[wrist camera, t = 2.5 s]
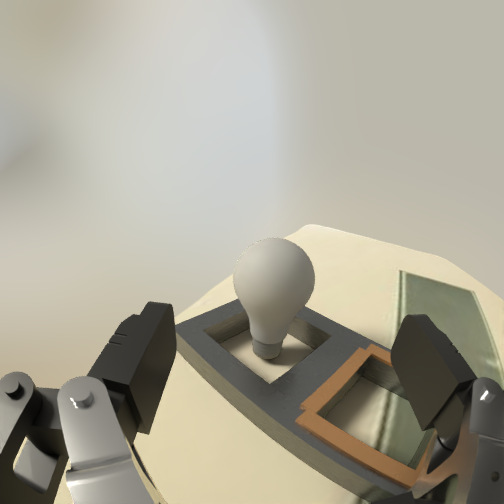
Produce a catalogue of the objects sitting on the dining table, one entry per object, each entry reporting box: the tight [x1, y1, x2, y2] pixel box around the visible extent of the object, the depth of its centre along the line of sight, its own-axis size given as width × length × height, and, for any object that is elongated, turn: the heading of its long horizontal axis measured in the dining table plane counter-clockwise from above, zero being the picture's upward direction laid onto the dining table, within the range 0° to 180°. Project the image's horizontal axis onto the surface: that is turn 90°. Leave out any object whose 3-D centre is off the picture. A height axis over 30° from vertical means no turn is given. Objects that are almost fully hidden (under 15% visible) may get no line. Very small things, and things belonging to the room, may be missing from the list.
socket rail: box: [175, 299, 436, 503], centre depth 19 cm, size 12×24×3 cm, turn 43°
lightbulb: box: [233, 238, 315, 359], centre depth 22 cm, size 6×6×11 cm
